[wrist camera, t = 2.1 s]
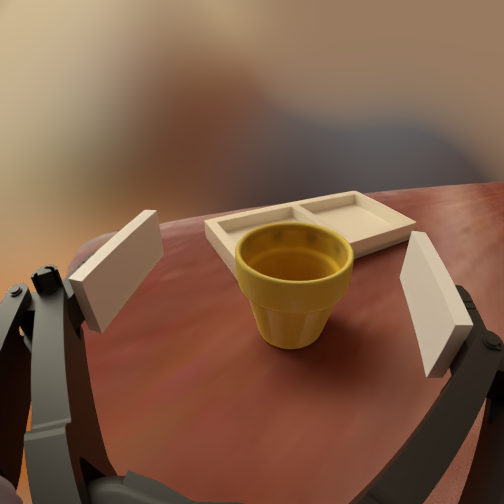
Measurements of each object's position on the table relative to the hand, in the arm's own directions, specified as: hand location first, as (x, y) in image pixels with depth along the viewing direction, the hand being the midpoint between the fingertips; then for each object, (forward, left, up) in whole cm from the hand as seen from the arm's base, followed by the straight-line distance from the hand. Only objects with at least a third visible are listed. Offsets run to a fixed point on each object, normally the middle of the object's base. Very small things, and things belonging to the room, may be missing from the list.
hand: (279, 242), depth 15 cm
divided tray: (-20, -23, -16) cm, 34 cm away
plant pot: (-6, -8, -16) cm, 19 cm away
